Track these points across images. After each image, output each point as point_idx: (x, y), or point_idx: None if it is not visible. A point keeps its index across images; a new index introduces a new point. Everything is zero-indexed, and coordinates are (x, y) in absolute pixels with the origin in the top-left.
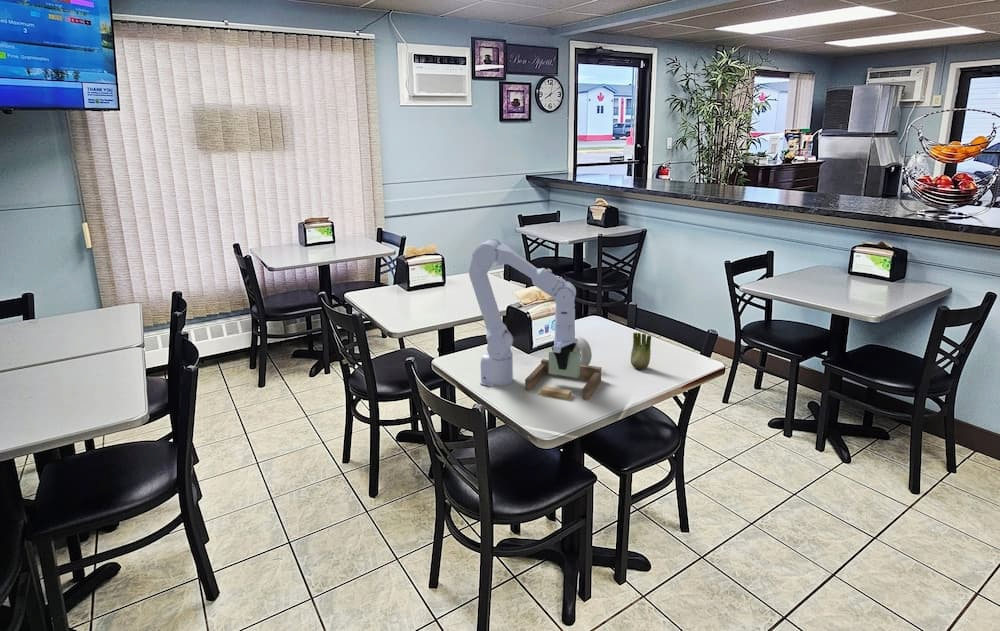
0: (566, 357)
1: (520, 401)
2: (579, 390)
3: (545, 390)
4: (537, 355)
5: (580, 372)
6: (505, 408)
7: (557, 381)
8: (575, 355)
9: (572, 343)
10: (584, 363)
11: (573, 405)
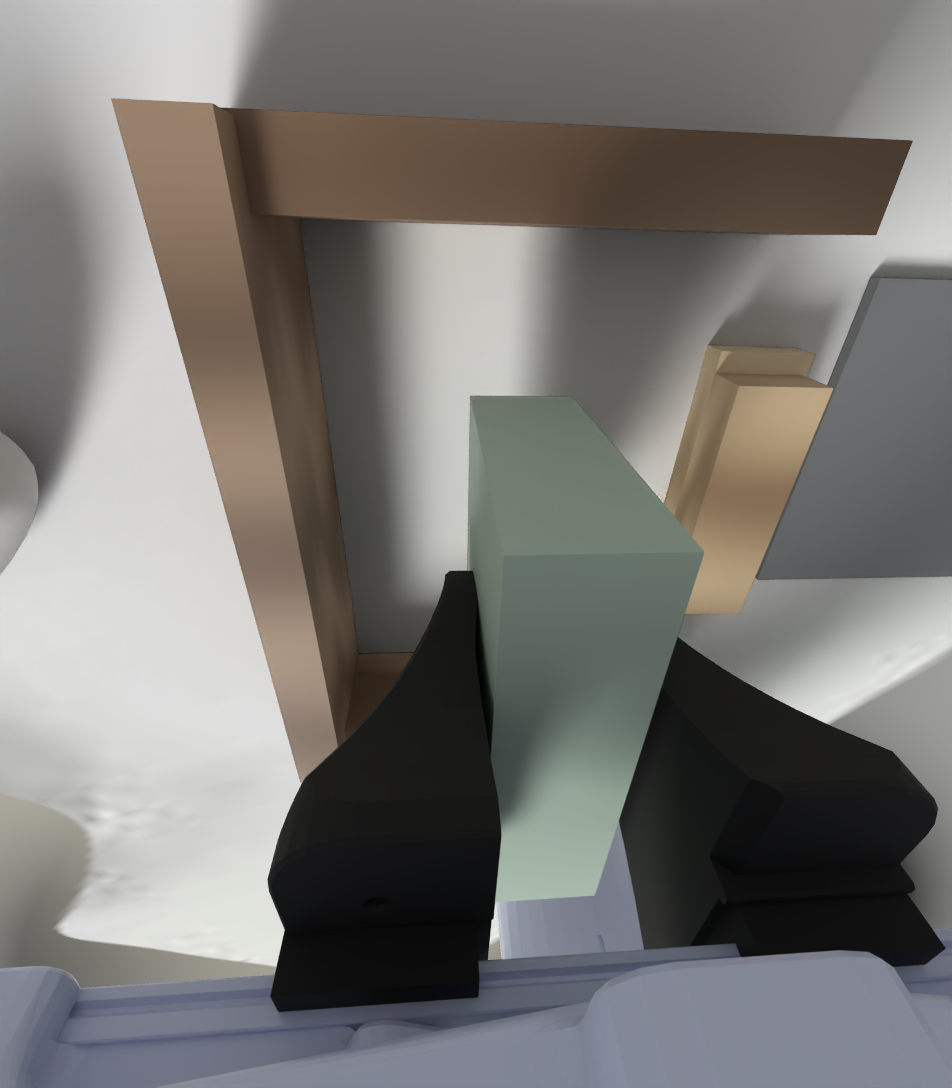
0: (747, 691)
1: (783, 648)
2: (524, 340)
3: (751, 580)
4: (63, 784)
5: (299, 424)
6: (874, 677)
7: (411, 561)
8: (682, 600)
9: (437, 885)
10: (9, 458)
11: (857, 298)
